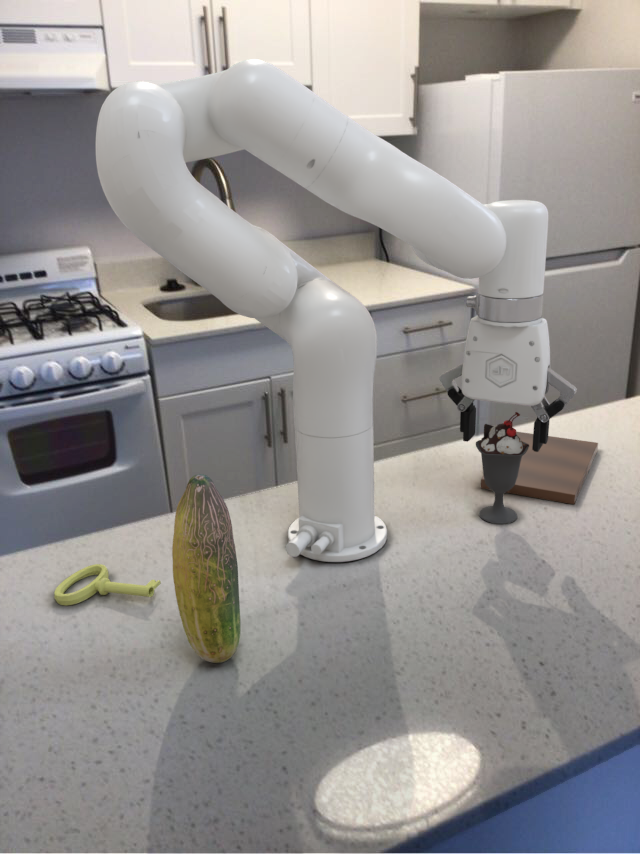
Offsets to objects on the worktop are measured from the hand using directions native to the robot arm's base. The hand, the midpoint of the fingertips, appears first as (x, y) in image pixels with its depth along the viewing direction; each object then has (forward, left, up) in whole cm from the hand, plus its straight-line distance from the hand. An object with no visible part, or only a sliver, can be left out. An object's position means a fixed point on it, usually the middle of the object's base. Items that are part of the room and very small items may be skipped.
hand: (502, 442), depth 97 cm
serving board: (+17, -2, -11) cm, 20 cm away
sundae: (0, 0, -11) cm, 11 cm away
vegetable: (-40, +18, -11) cm, 45 cm away
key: (-36, +36, -11) cm, 52 cm away
